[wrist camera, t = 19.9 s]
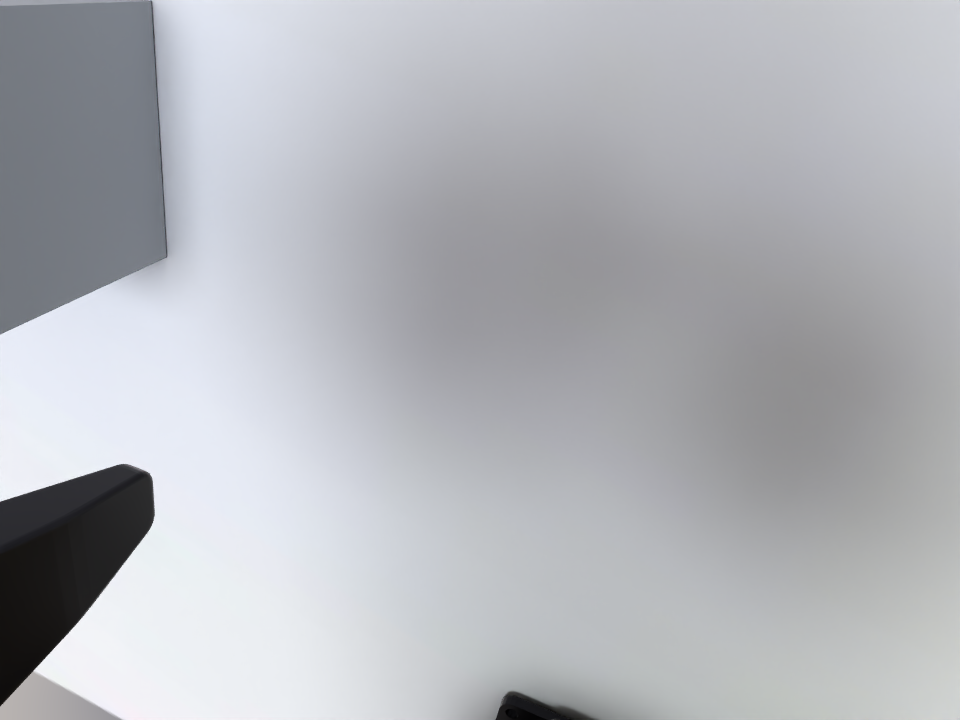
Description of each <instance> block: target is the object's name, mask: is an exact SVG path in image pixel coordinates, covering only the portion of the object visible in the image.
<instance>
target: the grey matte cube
mask: <svg viewBox="0 0 960 720" xmlns="http://www.w3.org/2000/svg"><path fill="white" fill-rule="evenodd" d="M166 257H167V254H166V238H165V221H164V204H163V188H162V171H161V155H160V138H159V122H158V105H157V88H156V72H155V55H154V39H153V22H152V6H151V1H148V0H0V334H2V333H4V332H6V331H9V330H11V329H13V328H15V327H17V326H19V325H21V324H24V323H26V322H28V321H30V320H32V319H34V318H37V317H39V316H41V315H43V314H45V313H47V312H49V311H52V310H54V309H56V308H58V307H60V306H62V305H65V304H67V303H69V302H71V301H73V300H75V299H77V298H80V297H82V296H84V295H86V294H88V293H90V292H93V291H95V290H97V289H99V288H101V287H103V286H105V285H108V284H110V283H112V282H114V281H116V280H118V279H121V278H123V277H125V276H127V275H129V274H131V273H133V272H136V271H138V270H140V269H142V268H144V267H146V266H149V265H151V264H153V263H155V262H157V261H159V260H161V259H164V258H166Z"/></svg>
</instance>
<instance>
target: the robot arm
mask: <svg viewBox="0 0 960 720" xmlns="http://www.w3.org/2000/svg"><path fill="white" fill-rule="evenodd" d="M154 516H155V509H154V493H153V480H152V477H151V475H150V474H149V473H148V472H146V471H144V470H141V469H139V468H136V467H134V466H132V465H128V464H120V465H116V466H113V467H110V468H106V469H103V470H100V471H97V472H94V473H90V474H87V475H84V476H81V477H78V478H74V479H71V480H68V481H65V482H62V483H58V484H55V485H52V486H49V487H46V488H42V489H39V490H36V491H33V492H30V493H26V494H23V495H20V496H17V497H14V498H10V499H7V500H4V501H1V502H0V706H1V705H2V704H3V703H4V702H5V701H6V700H7V699H8V698H9V696H10V695H11V694H12V693H13V692H14V691H15V690H16V689H17V688H18V687H19V686H20V685H21V683H22V682H23V681H24V680H25V679H26V678H27V677H28V676H29V675H30V674H31V673H32V672H33V671H34V669H35V668H36V667H37V666H38V665H39V664H40V663H41V662H42V661H43V660H44V659H45V658H46V657H47V655H48V654H49V653H50V652H51V651H52V650H53V649H54V648H55V647H56V646H57V645H58V644H59V643H60V641H61V640H62V639H63V638H64V637H65V636H66V635H67V634H68V633H69V632H70V631H71V629H72V628H73V627H74V626H75V625H76V624H77V623H78V622H79V621H80V619H81V618H82V617H83V616H84V615H85V613H86V612H87V611H88V610H89V608H90V607H91V606H92V605H93V603H94V602H95V601H96V599H97V598H98V597H99V596H100V594H101V593H102V592H103V590H104V589H105V588H106V586H107V585H108V584H109V582H110V581H111V580H112V579H113V577H114V576H115V575H116V573H117V572H118V571H119V569H120V568H121V567H122V565H123V564H124V563H125V561H126V560H127V559H128V558H129V556H130V555H131V554H132V552H133V551H134V550H135V548H136V547H137V546H138V544H139V543H140V542H141V540H142V539H143V538H144V537H145V535H146V534H147V533H148V531H149V530H150V528H151V526H152V523H153V521H154ZM496 720H571V719H568V718H566V717H564V716H561V715H559V714H556V713H554V712H552V711H549V710H547V709H545V708H542V707H540V706H538V705H535V704H533V703H531V702H528V701H526V700H524V699H521V698H519V697H516V696H506V697H504V698H503V700H502V703H501V706H500V708H499V712H498V715H497V718H496Z"/></svg>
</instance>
